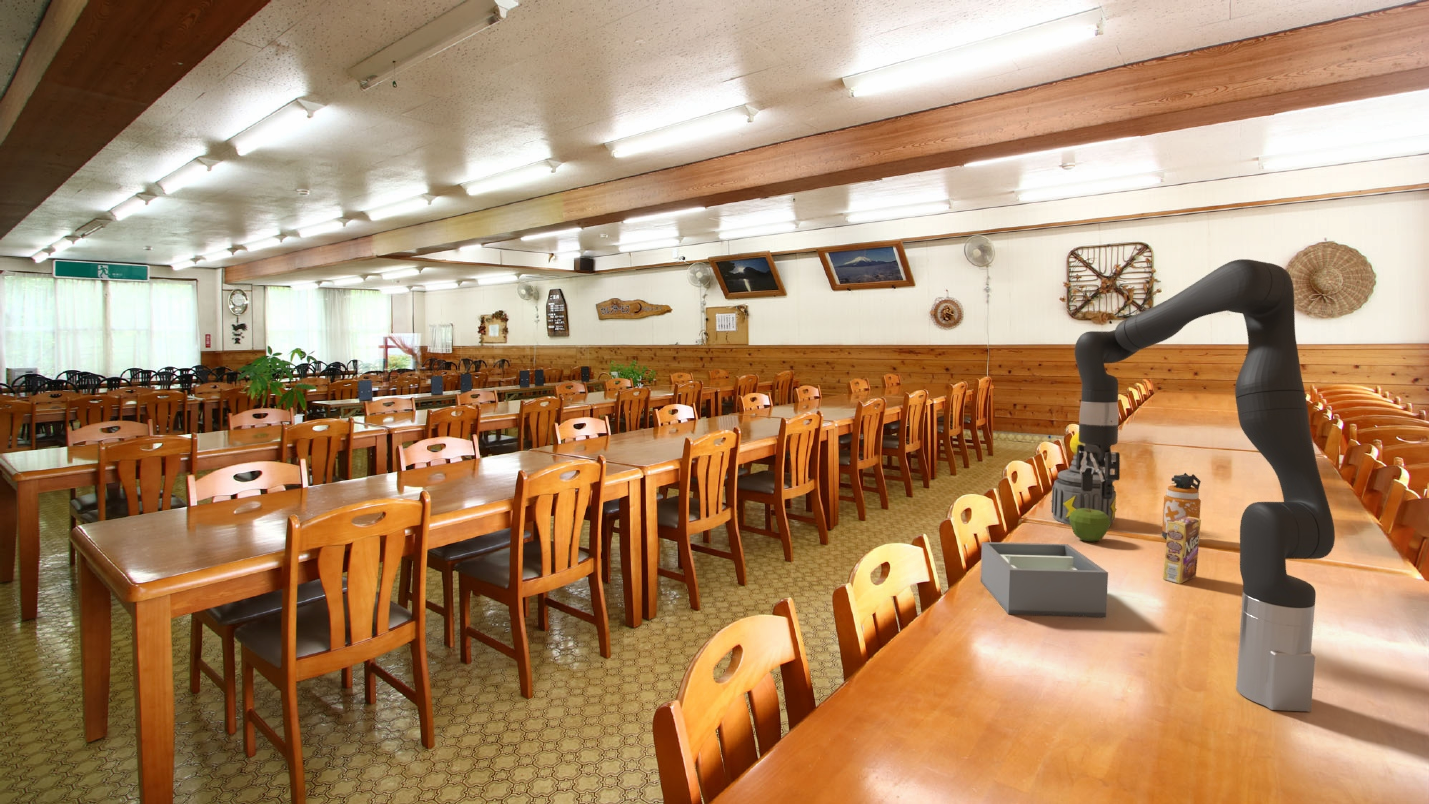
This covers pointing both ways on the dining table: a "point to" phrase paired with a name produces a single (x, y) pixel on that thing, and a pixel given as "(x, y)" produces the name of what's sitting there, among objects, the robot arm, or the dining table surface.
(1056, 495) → the decorative lamp
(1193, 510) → the canister
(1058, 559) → the small crate
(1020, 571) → the big crate
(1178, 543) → the candy box
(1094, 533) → the apple
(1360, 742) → the dining table surface
